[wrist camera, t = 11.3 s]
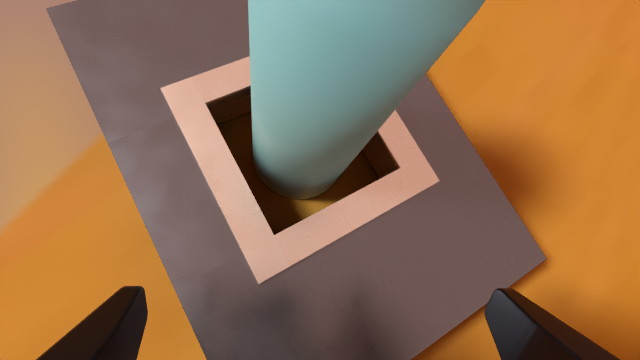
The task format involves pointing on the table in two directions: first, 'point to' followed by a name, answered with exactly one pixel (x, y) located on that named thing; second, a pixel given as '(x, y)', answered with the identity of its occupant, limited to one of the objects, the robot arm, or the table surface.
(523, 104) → the table surface
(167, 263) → the flange plate
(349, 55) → the teal peg
